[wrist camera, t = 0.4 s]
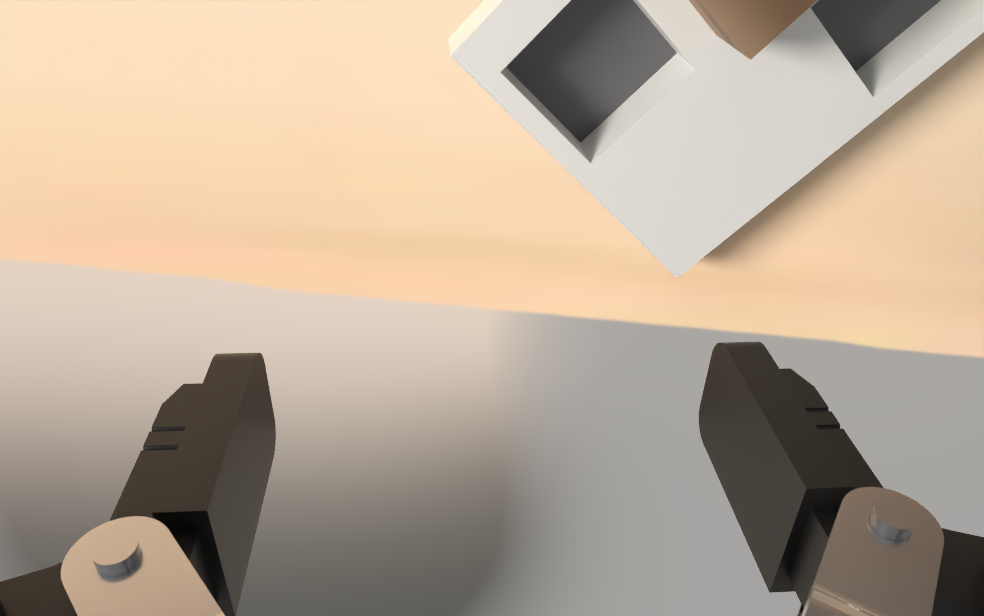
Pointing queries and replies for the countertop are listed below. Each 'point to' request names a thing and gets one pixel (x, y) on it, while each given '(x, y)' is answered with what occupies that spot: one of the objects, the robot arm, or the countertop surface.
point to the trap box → (699, 99)
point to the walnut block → (750, 20)
